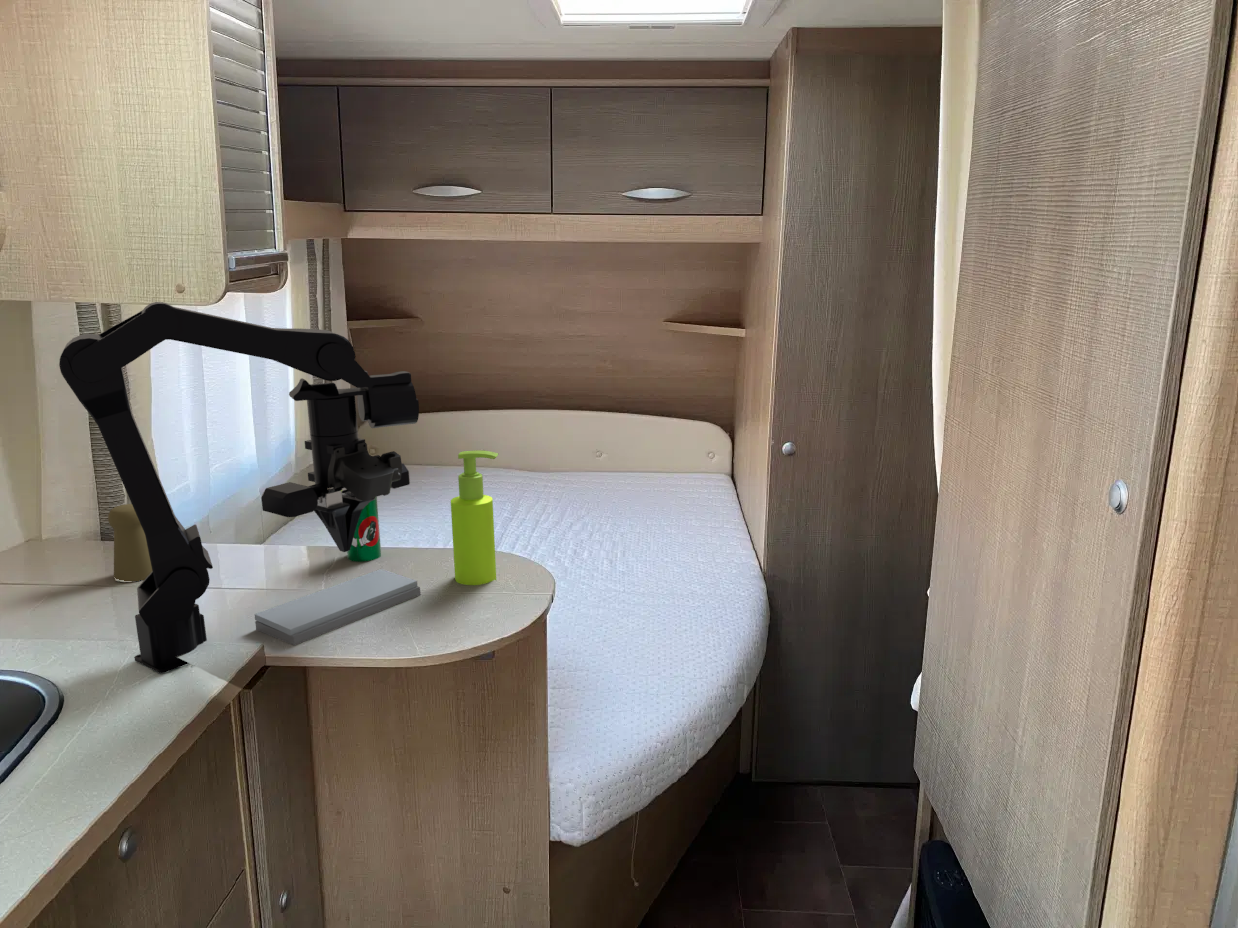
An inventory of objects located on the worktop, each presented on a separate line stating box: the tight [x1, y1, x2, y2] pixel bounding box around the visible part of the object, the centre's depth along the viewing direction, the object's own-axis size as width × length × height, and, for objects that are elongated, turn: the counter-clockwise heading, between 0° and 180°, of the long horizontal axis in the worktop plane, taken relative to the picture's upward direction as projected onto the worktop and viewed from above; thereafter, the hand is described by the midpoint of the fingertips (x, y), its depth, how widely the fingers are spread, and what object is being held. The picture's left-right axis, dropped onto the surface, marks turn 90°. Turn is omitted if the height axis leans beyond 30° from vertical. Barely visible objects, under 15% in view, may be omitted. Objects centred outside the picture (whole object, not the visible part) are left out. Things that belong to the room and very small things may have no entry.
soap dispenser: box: [450, 449, 499, 586], centre depth 132 cm, size 6×7×20 cm
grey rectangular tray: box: [254, 585, 421, 646], centre depth 123 cm, size 20×8×2 cm, turn 143°
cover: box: [254, 568, 418, 635], centre depth 122 cm, size 20×8×1 cm, turn 143°
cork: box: [107, 503, 152, 582], centre depth 140 cm, size 6×6×11 cm
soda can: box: [346, 496, 382, 563], centre depth 143 cm, size 5×5×12 cm
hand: (344, 551), depth 120 cm, fingers closed
